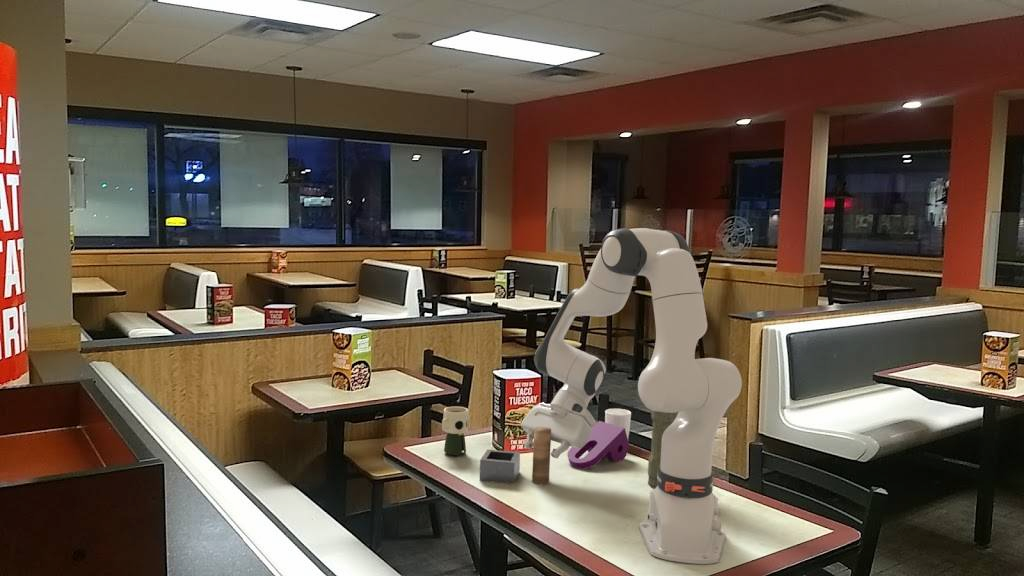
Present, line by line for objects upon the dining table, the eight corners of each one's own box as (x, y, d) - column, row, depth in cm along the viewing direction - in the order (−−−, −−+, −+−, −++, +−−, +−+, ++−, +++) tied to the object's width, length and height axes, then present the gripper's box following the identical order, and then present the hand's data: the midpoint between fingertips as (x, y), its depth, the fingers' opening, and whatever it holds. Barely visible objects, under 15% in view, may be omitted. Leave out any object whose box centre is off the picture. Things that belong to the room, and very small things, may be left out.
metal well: (513, 483, 198) (514, 462, 198) (479, 480, 200) (480, 459, 199) (519, 472, 207) (520, 452, 207) (486, 469, 209) (487, 449, 208)
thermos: (678, 495, 194) (686, 358, 191) (636, 484, 201) (643, 352, 198) (693, 486, 201) (701, 354, 198) (652, 475, 208) (659, 348, 205)
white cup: (615, 438, 242) (617, 407, 241) (634, 444, 236) (636, 412, 235) (598, 442, 237) (599, 410, 236) (617, 449, 231) (619, 416, 230)
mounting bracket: (593, 490, 213) (631, 451, 223) (586, 466, 209) (624, 428, 220) (568, 480, 219) (605, 443, 230) (560, 457, 216) (599, 420, 226)
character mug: (450, 461, 214) (452, 415, 213) (432, 455, 219) (433, 410, 218) (476, 452, 223) (478, 408, 222) (458, 447, 227) (460, 403, 226)
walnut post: (547, 485, 198) (550, 432, 197) (530, 483, 199) (533, 430, 198) (549, 479, 202) (552, 427, 201) (533, 477, 203) (535, 426, 202)
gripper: (532, 394, 211) (506, 436, 205) (591, 410, 197) (564, 455, 191) (543, 408, 215) (517, 449, 209) (601, 424, 200) (575, 468, 194)
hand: (540, 452), depth 200 cm, fingers open, 8 cm apart
